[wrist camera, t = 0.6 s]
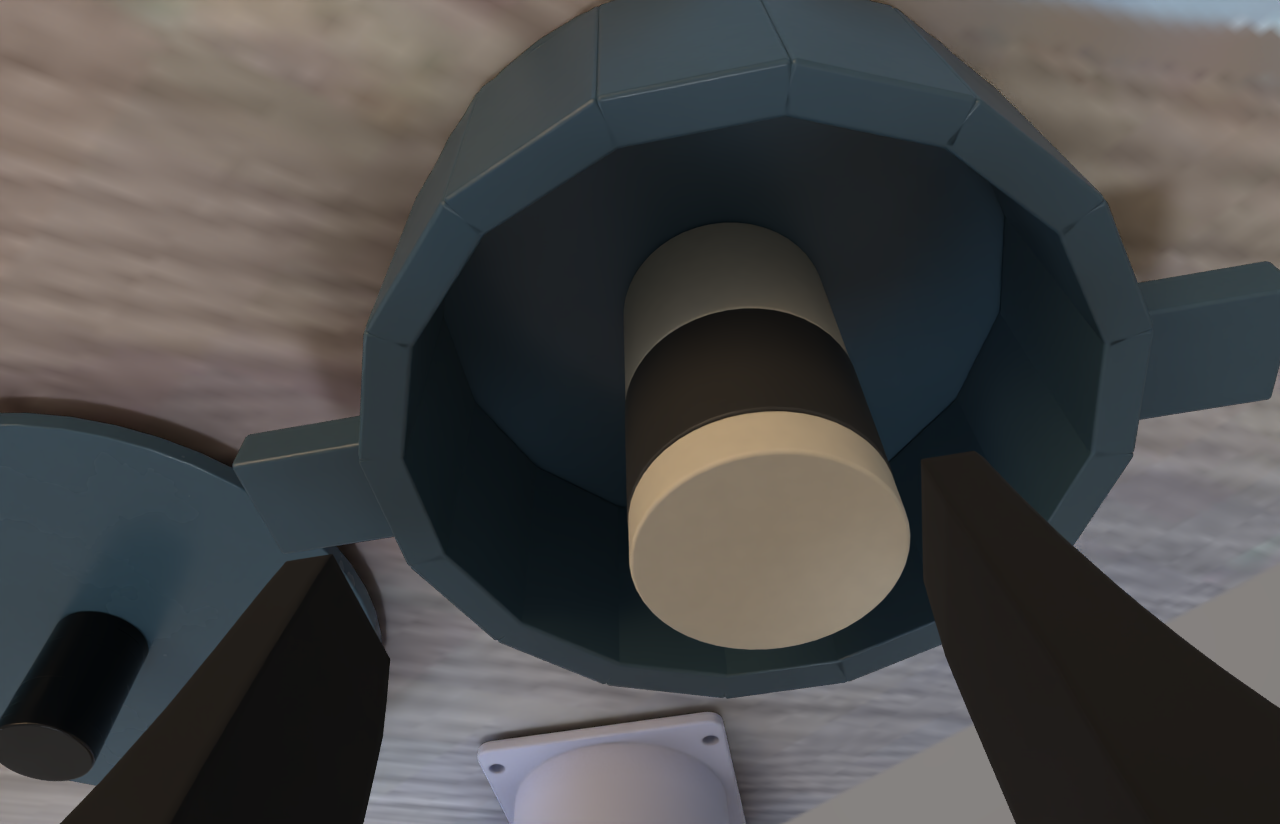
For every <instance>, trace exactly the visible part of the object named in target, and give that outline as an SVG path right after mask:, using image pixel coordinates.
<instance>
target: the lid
mask: <svg viewBox="0 0 1280 824" xmlns="http://www.w3.org/2000/svg"><path fill="white" fill-rule="evenodd" d="M329 554H333V555H334V557H335V559H336V561H337V563H338V565H339V566H340V568H341V570H342V572H343V574H344V576H345V577H346V579H347V581H348V583H349V585H350V587H351V588H352V590H353V592H354V594H355V596H356V598H357V599H358V601H359V603H360V605H361V607H362V609H363V610H364V612H365V614H366V616H367V618H368V620H369V621H370V623H371V625H372V627H373V629H374V631H375V632H376V634H377V636H378V638H379V640H380V642H381V643H382V635H381V631H380V627H379V622H378V618H377V614H376V610H375V608H374V606H373V603H372V601H371V599H370V596H369V594H368V592H367V589H366V587H365V585H364V584H363V582H362V581H361V579H360V577H359V576H358V574H357V573H356V571H355V570H354V568H353V566H352V565H351V563H350V562H349V561H348V560H347V558H346V557H345V556H344V555H343V554H342V552H341V551H340V550H339V549H338V548H337V546H332V547H326V548H319V549H313V550H307V551H300V552H294V553H288V554H285V553H282V552H281V550H280V549H279V547H278V545H277V544H276V542H275V540H274V538H273V537H272V535H271V533H270V532H269V530H268V528H267V527H266V525H265V523H264V521H263V520H262V518H261V516H260V515H259V513H258V511H257V509H256V508H255V506H254V504H253V503H252V501H251V499H250V498H249V496H248V494H247V492H246V491H245V489H244V487H243V486H242V484H241V482H240V480H239V479H238V477H237V475H236V474H235V472H234V470H233V468H231V467H229V466H227V465H225V464H223V463H221V462H219V461H217V460H215V459H213V458H211V457H209V456H207V455H204V454H202V453H200V452H197V451H195V450H192V449H189V448H187V447H184V446H181V445H179V444H176V443H174V442H171V441H168V440H166V439H163V438H160V437H157V436H153V435H150V434H146V433H143V432H139V431H135V430H132V429H128V428H125V427H121V426H118V425H113V424H107V423H102V422H97V421H91V420H86V419H81V418H75V417H68V416H57V415H46V414H35V413H0V763H1V764H2V765H4V766H5V767H7V768H9V769H10V770H12V771H14V772H16V773H19V774H21V775H24V776H27V777H31V778H35V779H40V780H47V781H67V780H69V781H74V782H79V783H85V784H90V785H95V786H97V785H98V784H99V783H100V782H101V780H102V779H103V778H104V777H105V776H106V775H107V774H108V773H109V771H110V770H111V769H112V768H113V767H114V766H115V765H116V764H117V762H118V761H119V760H120V759H121V758H122V757H123V756H124V755H125V753H126V752H127V751H128V750H129V749H130V748H131V747H132V745H133V744H134V743H135V742H136V741H137V740H138V739H139V738H140V736H141V735H142V734H143V733H144V732H145V731H146V730H147V729H148V727H149V726H150V725H151V724H152V723H153V722H154V721H155V720H156V718H157V717H158V716H159V715H160V714H161V713H162V712H163V711H164V709H165V708H166V707H167V706H168V705H169V704H170V702H171V701H172V700H173V699H174V698H175V696H176V695H177V694H178V693H179V691H180V690H181V689H182V688H183V687H184V685H185V684H186V683H187V682H188V680H189V679H190V678H191V677H192V676H193V674H194V673H195V672H196V671H197V670H198V668H199V667H200V666H201V665H202V663H203V662H204V661H205V660H206V659H207V657H208V656H209V655H210V654H211V652H212V651H213V650H214V649H215V648H216V646H217V645H218V644H219V643H220V641H221V640H222V639H223V638H224V636H225V635H226V634H227V633H228V631H229V630H230V629H231V628H232V626H233V625H234V624H235V623H236V621H237V620H238V619H239V618H240V616H241V615H242V614H243V613H244V611H245V610H246V609H247V608H248V606H249V605H250V604H251V603H252V602H253V600H254V599H255V598H256V597H257V595H258V594H259V593H260V592H261V590H262V589H263V588H264V587H265V586H266V584H267V583H268V582H269V581H270V580H271V578H272V577H273V576H274V575H275V574H276V572H277V571H278V570H279V569H280V568H281V567H282V566H283V564H284V563H285V562H286V561H291V560H298V559H304V558H310V557H316V556H322V555H329Z"/></svg>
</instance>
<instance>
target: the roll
mask: <svg viewBox="0 0 1280 824" xmlns="http://www.w3.org/2000/svg"><path fill="white" fill-rule="evenodd" d="M624 357H625V400H626V401H625V447H626V493H627V523H628V529H629V566H630V571H631V577H632V580H633V582H634V585H635V588H636V590H637V592H638V593H639V595H640V597H641V598H642V600H643V602H644V603H645V604H646V605H647V607H648V608H649V609H650V610H651V611H652V613H654V614H655V615H656V616H657V617H658V618H659V619H660V620H661V621H663V622H664V623H665V624H667V625H668V626H670V627H671V628H673V629H674V630H676V631H678V632H680V633H682V634H684V635H686V636H688V637H691V638H693V639H696V640H699V641H701V642H705V643H709V644H712V645H716V646H722V647H728V648H735V649H749V650H754V649H775V648H784V647H789V646H795V645H800V644H804V643H807V642H811V641H815V640H818V639H820V638H823V637H826V636H828V635H831V634H833V633H835V632H837V631H840V630H842V629H844V628H846V627H848V626H849V625H851V624H853V623H854V622H856V621H858V620H859V619H861V618H862V617H863V616H865V615H866V614H867V613H869V612H870V611H871V610H873V609H874V608H875V607H876V606H877V605H878V604H879V603H880V602H881V601H882V600H883V599H884V598H885V597H886V596H887V595H888V593H889V592H890V591H891V590H892V589H893V587H894V585H895V584H896V582H897V581H898V579H899V578H900V576H901V573H902V571H903V569H904V567H905V564H906V561H907V557H908V553H909V548H910V528H909V521H908V518H907V515H906V512H905V509H904V506H903V503H902V501H901V498H900V495H899V492H898V490H897V487H896V484H895V479H894V476H893V473H892V470H891V467H890V464H889V461H888V459H887V456H886V453H885V450H884V448H883V445H882V442H881V440H880V437H879V434H878V431H877V429H876V426H875V423H874V421H873V418H872V415H871V412H870V410H869V407H868V404H867V402H866V399H865V396H864V393H863V391H862V388H861V385H860V383H859V380H858V377H857V374H856V372H855V369H854V366H853V364H852V362H851V360H850V358H849V356H848V353H847V350H846V348H845V345H844V342H843V339H842V337H841V334H840V331H839V328H838V326H837V323H836V320H835V317H834V315H833V312H832V309H831V307H830V304H829V301H828V298H827V296H826V293H825V290H824V287H823V285H822V282H821V279H820V276H819V274H818V272H817V270H816V268H815V266H814V265H813V263H812V262H811V260H810V259H809V258H808V256H807V255H806V254H805V253H804V252H803V251H802V250H801V249H800V248H799V247H798V246H797V245H796V244H794V243H793V242H792V241H790V240H789V239H788V238H786V237H784V236H782V235H780V234H779V233H777V232H774V231H772V230H769V229H767V228H764V227H760V226H756V225H752V224H745V223H716V224H709V225H705V226H701V227H697V228H694V229H691V230H689V231H686V232H683V233H681V234H679V235H677V236H676V237H674V238H672V239H670V240H669V241H667V242H666V243H664V244H663V245H661V246H660V247H659V248H658V249H656V250H655V251H654V252H653V253H652V254H651V255H650V256H649V257H648V258H647V259H646V260H645V261H644V263H643V264H642V265H641V266H640V268H639V269H638V271H637V272H636V274H635V275H634V277H633V279H632V282H631V284H630V286H629V288H628V292H627V295H626V298H625V304H624Z"/></svg>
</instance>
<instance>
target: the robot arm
mask: <svg viewBox="0 0 1280 824" xmlns="http://www.w3.org/2000/svg"><path fill="white" fill-rule="evenodd" d="M921 490H922V542H923V580H924V584H925V588H926V591H927V595H928V598H929V602H930V605H931V609H932V612H933V616H934V619H935V623H936V626H937V629H938V633H939V636H940V639H941V643H942V646H943V649H944V653H945V656H946V659H947V661H948V664H949V666H950V669H951V671H952V673H953V676H954V678H955V681H956V683H957V685H958V688H959V690H960V693H961V695H962V697H963V700H964V702H965V704H966V707H967V709H968V712H969V714H970V716H971V719H972V721H973V724H974V726H975V728H976V731H977V733H978V735H979V738H980V740H981V742H982V744H983V747H984V749H985V752H986V754H987V756H988V759H989V761H990V764H991V766H992V768H993V771H994V773H995V775H996V778H997V780H998V782H999V785H1000V787H1001V789H1002V792H1003V794H1004V796H1005V799H1006V801H1007V804H1008V806H1009V808H1010V811H1011V813H1012V815H1013V818H1014V820H1015V822H1016V824H1280V708H1279V707H1277V706H1276V705H1274V704H1273V703H1271V702H1270V701H1268V700H1267V699H1266V698H1264V697H1263V696H1261V695H1260V694H1258V693H1257V692H1256V691H1254V690H1253V689H1251V688H1250V687H1248V686H1247V685H1245V684H1244V683H1243V682H1241V681H1240V680H1238V679H1237V678H1235V677H1234V676H1233V675H1231V674H1230V673H1228V672H1227V671H1225V670H1224V669H1223V668H1221V667H1220V666H1219V665H1217V664H1216V663H1215V662H1213V661H1212V660H1211V659H1209V658H1208V657H1206V656H1205V655H1204V654H1203V653H1201V652H1200V651H1199V650H1197V649H1196V648H1195V647H1193V646H1192V645H1190V644H1189V643H1188V642H1187V641H1185V640H1184V639H1183V638H1182V637H1180V636H1179V635H1178V634H1176V633H1175V632H1174V631H1173V630H1171V629H1170V628H1169V627H1168V626H1166V625H1165V624H1164V623H1163V622H1161V621H1160V620H1159V619H1158V618H1156V617H1155V616H1154V615H1153V614H1151V613H1150V612H1149V611H1148V610H1146V609H1145V608H1144V607H1143V606H1141V605H1140V604H1139V603H1138V602H1137V601H1136V600H1134V599H1133V598H1132V597H1131V596H1130V595H1128V594H1127V593H1126V592H1125V591H1124V590H1122V589H1121V588H1120V587H1119V586H1118V585H1116V584H1115V583H1114V582H1113V581H1112V580H1111V579H1110V578H1109V577H1107V576H1106V575H1105V574H1104V573H1103V572H1102V571H1101V570H1100V569H1098V568H1097V567H1096V566H1095V565H1094V564H1093V563H1092V562H1091V561H1089V560H1088V559H1087V558H1086V557H1085V556H1084V555H1083V554H1082V553H1080V552H1079V551H1078V550H1077V549H1076V548H1075V547H1074V546H1073V545H1071V544H1070V543H1069V542H1068V541H1067V540H1066V539H1065V538H1064V537H1063V536H1062V535H1061V534H1060V533H1059V532H1057V531H1056V530H1055V529H1054V528H1053V527H1052V526H1051V525H1050V524H1049V523H1048V522H1047V521H1046V520H1045V519H1044V518H1043V517H1042V516H1041V515H1040V514H1039V513H1038V512H1037V511H1036V510H1035V509H1034V508H1033V507H1032V506H1031V505H1029V504H1028V503H1027V502H1026V501H1025V500H1024V499H1023V498H1022V497H1021V496H1020V495H1019V494H1018V493H1017V492H1016V491H1015V489H1014V488H1013V487H1012V486H1011V485H1010V484H1009V483H1008V482H1007V481H1006V480H1005V479H1004V478H1003V477H1002V476H1001V475H1000V474H999V473H998V472H997V471H996V470H995V469H994V468H993V467H992V466H991V465H990V464H989V463H988V461H987V460H986V459H985V458H984V457H983V456H981V455H980V454H978V453H977V452H975V451H969V452H963V453H956V454H950V455H944V456H938V457H931V458H925V459H921ZM389 666H390V658H389V656H388V654H387V653H386V651H385V649H384V647H383V645H382V643H381V642H380V640H379V638H378V636H377V634H376V632H375V631H374V629H373V627H372V625H371V623H370V621H369V620H368V618H367V616H366V614H365V612H364V610H363V609H362V607H361V605H360V603H359V601H358V599H357V598H356V596H355V594H354V592H353V590H352V588H351V587H350V585H349V583H348V581H347V579H346V577H345V576H344V574H343V572H342V570H341V568H340V566H339V565H338V563H337V561H336V559H335V557H334V555H333V554H329V555H322V556H316V557H310V558H304V559H298V560H291V561H286V562H285V563H284V564H283V566H282V567H281V568H280V569H279V570H278V571H277V572H276V574H275V575H274V576H273V577H272V578H271V580H270V581H269V582H268V583H267V584H266V586H265V587H264V588H263V589H262V590H261V592H260V593H259V594H258V595H257V597H256V598H255V599H254V600H253V602H252V603H251V604H250V605H249V606H248V608H247V609H246V610H245V611H244V613H243V614H242V615H241V616H240V618H239V619H238V620H237V621H236V623H235V624H234V625H233V626H232V628H231V629H230V630H229V631H228V633H227V634H226V635H225V636H224V638H223V639H222V640H221V641H220V643H219V644H218V645H217V646H216V648H215V649H214V650H213V651H212V652H211V654H210V655H209V656H208V657H207V659H206V660H205V661H204V662H203V663H202V665H201V666H200V667H199V668H198V670H197V671H196V672H195V673H194V674H193V676H192V677H191V678H190V679H189V680H188V682H187V683H186V684H185V685H184V687H183V688H182V689H181V690H180V691H179V693H178V694H177V695H176V696H175V698H174V699H173V700H172V701H171V702H170V704H169V705H168V706H167V707H166V708H165V709H164V711H163V712H162V713H161V714H160V715H159V716H158V717H157V718H156V720H155V721H154V722H153V723H152V724H151V725H150V726H149V727H148V729H147V730H146V731H145V732H144V733H143V734H142V735H141V736H140V738H139V739H138V740H137V741H136V742H135V743H134V744H133V745H132V747H131V748H130V749H129V750H128V751H127V752H126V753H125V755H124V756H123V757H122V758H121V759H120V760H119V761H118V762H117V764H116V765H115V766H114V767H113V768H112V769H111V770H110V771H109V773H108V774H107V775H106V776H105V777H104V778H103V779H102V780H101V782H100V783H99V784H98V785H97V786H96V787H95V788H94V789H93V790H92V791H91V792H90V793H89V794H88V795H87V796H86V797H85V799H84V800H83V801H82V802H81V803H80V804H79V805H78V806H77V807H76V808H75V809H74V810H73V811H72V812H71V813H70V814H69V815H68V816H67V817H66V818H65V819H64V820H63V821H62V822H61V823H60V824H363V822H364V818H365V814H366V810H367V805H368V801H369V797H370V792H371V788H372V783H373V779H374V774H375V770H376V766H377V761H378V757H379V752H380V747H381V742H382V738H383V730H384V721H385V712H386V703H387V691H388V678H389ZM478 762H479V764H480V766H481V768H482V770H483V772H484V774H485V776H486V778H487V780H488V782H489V784H490V785H491V787H492V789H493V791H494V793H495V795H496V797H497V799H498V801H499V803H500V805H501V807H502V809H503V811H504V813H505V815H506V817H507V819H508V821H509V823H510V824H746V820H745V816H744V812H743V807H742V803H741V798H740V794H739V789H738V785H737V780H736V776H735V771H734V767H733V762H732V758H731V754H730V749H729V745H728V740H727V736H726V731H725V727H724V722H723V719H722V717H721V716H720V715H718V714H717V713H713V712H701V713H694V714H686V715H679V716H672V717H664V718H657V719H650V720H642V721H635V722H628V723H620V724H613V725H606V726H598V727H591V728H584V729H576V730H569V731H561V732H554V733H547V734H539V735H532V736H525V737H517V738H510V739H503V740H495V741H489V742H485V743H484V744H482V745H481V746H480V747H479V749H478Z"/></svg>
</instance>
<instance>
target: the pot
mask: <svg viewBox="0 0 1280 824" xmlns="http://www.w3.org/2000/svg"><path fill="white" fill-rule="evenodd" d="M716 223H745V224H752V225H756V226H760V227H764V228H767V229H769V230H772V231H774V232H777V233H779V234H780V235H782V236H784V237H786V238H788V239H789V240H790V241H792V242H793V243H794V244H796V245H797V246H798V247H799V248H800V249H801V250H802V251H803V252H804V253H805V254H806V255H807V256H808V258H809V259H810V260H811V262H812V263H813V265H814V266H815V268H816V270H817V272H818V274H819V276H820V279H821V282H822V285H823V287H824V290H825V293H826V296H827V298H828V301H829V304H830V307H831V309H832V312H833V315H834V317H835V320H836V323H837V326H838V328H839V331H840V334H841V337H842V339H843V342H844V345H845V348H846V350H847V353H848V356H849V358H850V360H851V362H852V364H853V366H854V369H855V372H856V374H857V377H858V380H859V383H860V385H861V388H862V391H863V393H864V396H865V399H866V402H867V404H868V407H869V410H870V412H871V415H872V418H873V421H874V423H875V426H876V429H877V431H878V434H879V437H880V440H881V442H882V445H883V448H884V450H885V453H886V456H887V459H888V461H889V464H890V467H891V470H892V473H893V476H894V479H895V484H896V487H897V490H898V492H899V495H900V498H901V501H902V503H903V506H904V509H905V512H906V515H907V518H908V521H909V528H910V548H909V553H908V557H907V561H906V564H905V567H904V569H903V571H902V573H901V576H900V578H899V579H898V581H897V582H896V584H895V585H894V587H893V589H892V590H891V591H890V592H889V593H888V595H887V596H886V597H885V598H884V599H883V600H882V601H881V602H880V603H879V604H878V605H877V606H876V607H875V608H874V609H873V610H871V611H870V612H869V613H867V614H866V615H865V616H863V617H862V618H861V619H859V620H858V621H856V622H854V623H853V624H851V625H849V626H848V627H846V628H844V629H842V630H840V631H837V632H835V633H833V634H831V635H828V636H826V637H823V638H820V639H818V640H815V641H811V642H807V643H804V644H800V645H795V646H789V647H784V648H775V649H754V650H749V649H735V648H728V647H722V646H716V645H712V644H709V643H705V642H701V641H699V640H696V639H693V638H691V637H688V636H686V635H684V634H682V633H680V632H678V631H676V630H674V629H673V628H671V627H670V626H668V625H667V624H665V623H664V622H663V621H661V620H660V619H659V618H658V617H657V616H656V615H655V614H654V613H652V611H651V610H650V609H649V608H648V607H647V605H646V604H645V603H644V602H643V600H642V598H641V597H640V595H639V593H638V592H637V590H636V588H635V585H634V582H633V580H632V577H631V571H630V566H629V529H628V523H627V493H626V447H625V401H626V400H625V357H624V304H625V298H626V295H627V292H628V288H629V286H630V284H631V282H632V279H633V277H634V275H635V274H636V272H637V271H638V269H639V268H640V266H641V265H642V264H643V263H644V261H645V260H646V259H647V258H648V257H649V256H650V255H651V254H652V253H653V252H654V251H655V250H656V249H658V248H659V247H660V246H661V245H663V244H664V243H666V242H667V241H669V240H670V239H672V238H674V237H676V236H677V235H679V234H681V233H683V232H686V231H689V230H691V229H694V228H697V227H701V226H705V225H709V224H716ZM1279 365H1280V270H1279V269H1278V268H1276V267H1275V266H1274V265H1273V264H1272V263H1270V262H1266V261H1264V262H1258V263H1252V264H1246V265H1241V266H1235V267H1229V268H1223V269H1217V270H1211V271H1205V272H1199V273H1194V274H1188V275H1182V276H1176V277H1170V278H1164V279H1158V280H1152V281H1147V282H1141V283H1138V282H1137V280H1136V277H1135V274H1134V272H1133V269H1132V267H1131V264H1130V261H1129V259H1128V256H1127V253H1126V251H1125V248H1124V245H1123V243H1122V240H1121V238H1120V235H1119V232H1118V230H1117V227H1116V224H1115V222H1114V219H1113V216H1112V214H1111V211H1110V209H1109V206H1108V203H1107V201H1106V200H1105V199H1104V198H1103V196H1102V194H1101V193H1100V192H1099V191H1098V190H1097V189H1096V188H1095V187H1094V186H1093V185H1092V184H1091V183H1090V182H1089V181H1088V180H1087V179H1086V178H1085V177H1084V176H1083V175H1082V174H1081V173H1080V172H1079V171H1078V170H1077V169H1076V168H1075V167H1074V166H1073V165H1072V164H1071V163H1070V162H1069V161H1068V160H1067V159H1066V158H1065V157H1064V156H1063V155H1062V154H1061V153H1060V152H1059V151H1058V150H1057V149H1056V148H1055V147H1054V146H1053V145H1052V144H1051V143H1050V142H1049V141H1048V140H1047V139H1046V138H1045V137H1044V136H1043V135H1042V134H1041V133H1040V132H1039V131H1038V130H1037V129H1036V128H1035V127H1034V126H1033V125H1032V124H1031V123H1030V122H1029V121H1028V120H1027V119H1026V118H1025V117H1024V116H1023V115H1022V114H1021V113H1020V112H1019V111H1018V110H1017V109H1016V108H1015V107H1014V106H1013V105H1012V104H1011V103H1010V102H1009V101H1008V100H1007V99H1006V98H1005V97H1004V96H1003V95H1002V94H1001V93H1000V92H999V91H998V90H997V89H996V88H994V87H993V86H992V85H991V84H989V83H988V82H987V81H986V80H985V79H983V78H982V77H981V76H980V75H978V74H977V73H976V72H975V71H973V70H972V69H971V68H970V67H968V66H967V65H966V64H965V63H964V62H962V61H961V60H960V59H959V58H957V57H956V56H955V55H954V54H952V53H951V52H950V51H949V50H948V49H947V48H946V47H945V46H944V45H943V44H942V43H941V42H940V41H938V40H937V39H935V38H934V37H932V36H931V35H930V34H928V33H927V32H925V31H924V30H923V29H922V28H920V27H919V26H918V25H917V24H915V23H914V22H913V21H912V20H910V19H909V18H908V17H907V16H905V15H904V14H903V13H902V12H901V11H899V10H898V9H896V8H892V7H891V6H890V5H886V4H881V3H877V2H872V1H870V0H613V1H611V2H609V3H605V4H602V5H601V6H600V7H594V8H593V9H592V10H590V11H588V12H586V13H583V14H581V15H579V16H577V17H576V18H574V19H572V20H571V21H569V22H568V23H566V24H564V25H563V26H561V27H559V28H558V29H556V30H554V31H553V32H551V33H550V34H548V35H546V36H545V37H543V38H541V39H540V40H538V41H537V42H536V43H535V44H533V45H532V46H531V47H530V48H529V49H527V50H526V51H525V52H524V53H522V54H521V55H520V56H519V57H518V58H516V59H515V60H514V61H513V62H511V63H510V64H509V65H508V66H507V67H505V68H504V69H503V70H502V71H501V72H500V73H499V74H498V75H497V77H496V78H494V79H493V80H491V81H490V82H489V83H487V84H486V85H484V86H483V87H482V88H481V90H480V92H478V93H477V94H476V95H475V97H474V99H473V100H472V102H471V104H470V106H469V107H468V109H467V111H466V113H465V114H464V116H463V118H462V119H461V121H460V122H459V123H458V125H457V126H456V128H455V129H454V131H453V132H452V134H451V135H450V137H449V138H448V140H447V142H446V144H445V147H444V149H443V151H442V153H441V155H440V157H439V159H438V161H437V163H436V164H435V166H434V168H433V170H432V171H431V173H430V175H429V177H428V178H427V180H426V182H425V183H424V185H423V187H422V189H421V190H420V192H419V194H418V196H417V197H416V199H415V202H414V204H413V207H412V209H411V212H410V215H409V217H408V220H407V222H406V225H405V227H404V230H403V233H402V235H401V238H400V240H399V243H398V245H397V248H396V250H395V253H394V256H393V258H392V261H391V263H390V266H389V268H388V271H387V274H386V276H385V279H384V281H383V284H382V286H381V289H380V292H379V294H378V297H377V299H376V302H375V304H374V307H373V309H372V312H371V315H370V317H369V320H368V322H367V325H366V329H365V332H364V334H363V357H362V380H361V403H360V416H355V417H350V418H344V419H338V420H332V421H326V422H320V423H314V424H308V425H303V426H297V427H291V428H285V429H279V430H273V431H267V432H261V433H256V434H250V435H248V436H247V437H246V438H245V440H244V442H243V444H242V446H241V448H240V450H239V452H238V454H237V456H236V458H235V460H234V462H233V464H232V467H233V470H234V472H235V474H236V475H237V477H238V479H239V480H240V482H241V484H242V486H243V487H244V489H245V491H246V492H247V494H248V496H249V498H250V499H251V501H252V503H253V504H254V506H255V508H256V509H257V511H258V513H259V515H260V516H261V518H262V520H263V521H264V523H265V525H266V527H267V528H268V530H269V532H270V533H271V535H272V537H273V538H274V540H275V542H276V544H277V545H278V547H279V549H280V550H281V552H282V553H285V554H288V553H294V552H300V551H307V550H313V549H319V548H326V547H332V546H338V545H345V544H351V543H357V542H364V541H370V540H377V539H383V538H389V537H395V539H396V541H397V543H398V545H399V547H400V549H401V551H402V553H403V556H404V558H405V560H406V562H407V564H408V565H409V566H411V568H412V569H413V570H414V571H415V572H417V573H418V574H419V575H420V576H421V577H422V578H423V579H425V580H426V581H427V582H428V583H429V584H430V585H432V586H433V587H434V588H435V589H436V590H437V591H439V592H440V593H441V594H442V595H443V596H444V597H446V598H447V599H448V600H449V601H450V602H451V603H452V604H454V605H455V606H456V607H457V608H458V609H459V610H461V611H462V612H463V613H464V614H465V615H466V616H468V617H469V618H470V619H471V620H472V621H473V622H475V623H476V624H477V625H478V626H479V627H480V628H481V629H483V630H484V631H485V632H486V633H487V634H488V635H490V636H491V637H492V638H493V639H494V640H498V641H499V642H500V643H502V644H505V645H507V646H510V647H512V648H515V649H517V650H520V651H522V652H525V653H527V654H530V655H532V656H534V657H537V658H539V659H542V660H544V661H547V662H549V663H552V664H554V665H557V666H559V667H562V668H564V669H567V670H569V671H572V672H574V673H577V674H579V675H582V676H584V677H587V678H589V679H592V680H594V681H597V682H599V683H602V684H606V683H607V685H609V686H618V687H627V688H636V689H646V690H655V691H664V692H673V693H682V694H691V695H700V696H709V697H718V698H724V697H726V698H735V697H743V696H750V695H757V694H765V693H772V692H779V691H786V690H794V689H801V688H808V687H816V686H823V685H830V684H838V683H845V682H847V681H852V680H854V679H857V678H859V677H862V676H864V675H867V674H869V673H872V672H874V671H877V670H879V669H882V668H884V667H887V666H889V665H892V664H894V663H897V662H899V661H902V660H904V659H907V658H909V657H912V656H914V655H917V654H919V653H922V652H924V651H927V650H929V649H932V648H934V647H937V646H939V645H942V643H941V639H940V636H939V633H938V629H937V626H936V623H935V619H934V616H933V612H932V609H931V605H930V602H929V598H928V595H927V591H926V588H925V584H924V580H923V542H922V490H921V459H925V458H931V457H938V456H944V455H950V454H956V453H963V452H969V451H975V452H977V453H978V454H980V455H981V456H983V457H984V458H985V459H986V460H987V461H988V463H989V464H990V465H991V466H992V467H993V468H994V469H995V470H996V471H997V472H998V473H999V474H1000V475H1001V476H1002V477H1003V478H1004V479H1005V480H1006V481H1007V482H1008V483H1009V484H1010V485H1011V486H1012V487H1013V488H1014V489H1015V491H1016V492H1017V493H1018V494H1019V495H1020V496H1021V497H1022V498H1023V499H1024V500H1025V501H1026V502H1027V503H1028V504H1029V505H1031V506H1032V507H1033V508H1034V509H1035V510H1036V511H1037V512H1038V513H1039V514H1040V515H1041V516H1042V517H1043V518H1044V519H1045V520H1046V521H1047V522H1048V523H1049V524H1050V525H1051V526H1052V527H1053V528H1054V529H1055V530H1056V531H1057V532H1059V533H1060V534H1061V535H1062V536H1063V537H1064V538H1065V539H1066V540H1067V541H1068V542H1069V543H1070V544H1071V545H1074V544H1075V542H1076V541H1077V539H1078V538H1079V536H1080V535H1081V533H1082V532H1083V530H1084V529H1085V527H1086V526H1087V524H1088V523H1089V521H1090V520H1091V518H1092V517H1093V515H1094V514H1095V512H1096V511H1097V509H1098V508H1099V506H1100V505H1101V503H1102V502H1103V500H1104V499H1105V497H1106V496H1107V494H1108V493H1109V491H1110V490H1111V488H1112V487H1113V486H1114V484H1115V483H1116V481H1117V480H1118V478H1119V477H1120V475H1121V474H1122V472H1123V471H1124V469H1125V468H1126V466H1127V465H1128V463H1129V462H1130V460H1131V459H1132V457H1133V451H1134V448H1135V442H1136V436H1137V430H1138V424H1139V420H1141V419H1147V418H1153V417H1160V416H1166V415H1172V414H1179V413H1185V412H1191V411H1198V410H1204V409H1210V408H1217V407H1223V406H1229V405H1236V404H1242V403H1248V402H1255V401H1261V400H1267V399H1269V398H1270V397H1271V396H1272V392H1273V388H1274V384H1275V381H1276V377H1277V373H1278V369H1279Z"/></svg>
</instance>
